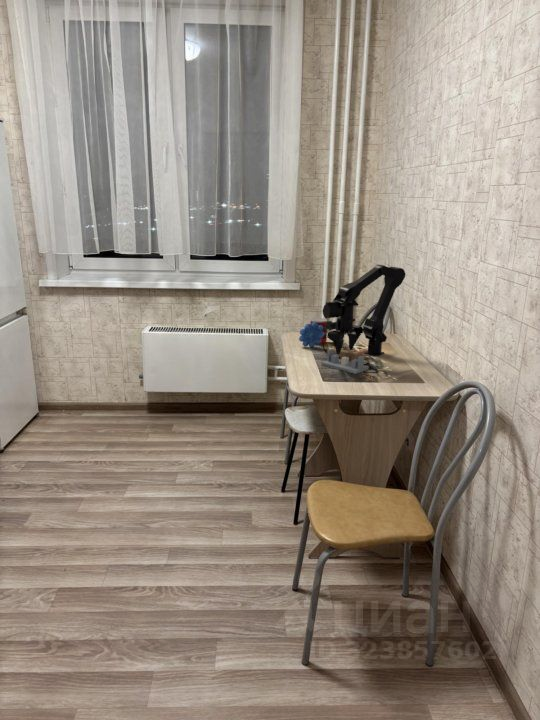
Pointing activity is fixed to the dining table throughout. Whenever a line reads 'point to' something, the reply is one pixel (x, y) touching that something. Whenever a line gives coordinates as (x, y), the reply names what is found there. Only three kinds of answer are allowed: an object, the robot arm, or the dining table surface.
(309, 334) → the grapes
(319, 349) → the dining table surface
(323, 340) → the canned food
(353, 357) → the brown rectangular block
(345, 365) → the display cradle
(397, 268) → the robot arm
